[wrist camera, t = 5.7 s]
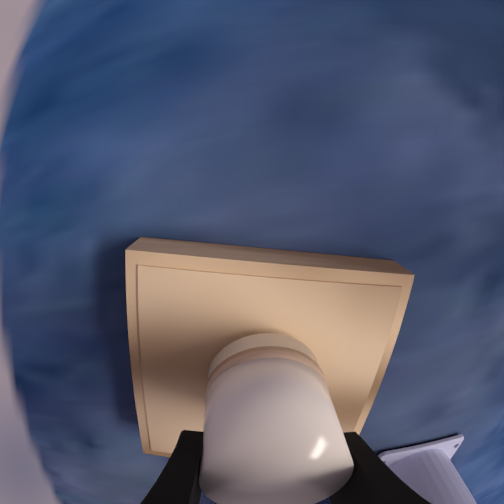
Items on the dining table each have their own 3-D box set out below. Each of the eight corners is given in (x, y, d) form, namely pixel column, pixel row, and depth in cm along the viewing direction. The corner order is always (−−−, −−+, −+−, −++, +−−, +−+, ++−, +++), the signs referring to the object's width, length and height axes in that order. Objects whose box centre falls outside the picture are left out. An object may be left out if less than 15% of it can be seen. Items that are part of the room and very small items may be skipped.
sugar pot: (296, 422, 13) (316, 514, 8) (197, 406, 12) (186, 505, 8) (337, 343, 12) (383, 441, 7) (221, 320, 11) (215, 427, 6)
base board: (338, 435, 16) (347, 460, 14) (149, 427, 16) (143, 454, 14) (393, 260, 14) (415, 276, 12) (140, 236, 13) (124, 250, 11)
